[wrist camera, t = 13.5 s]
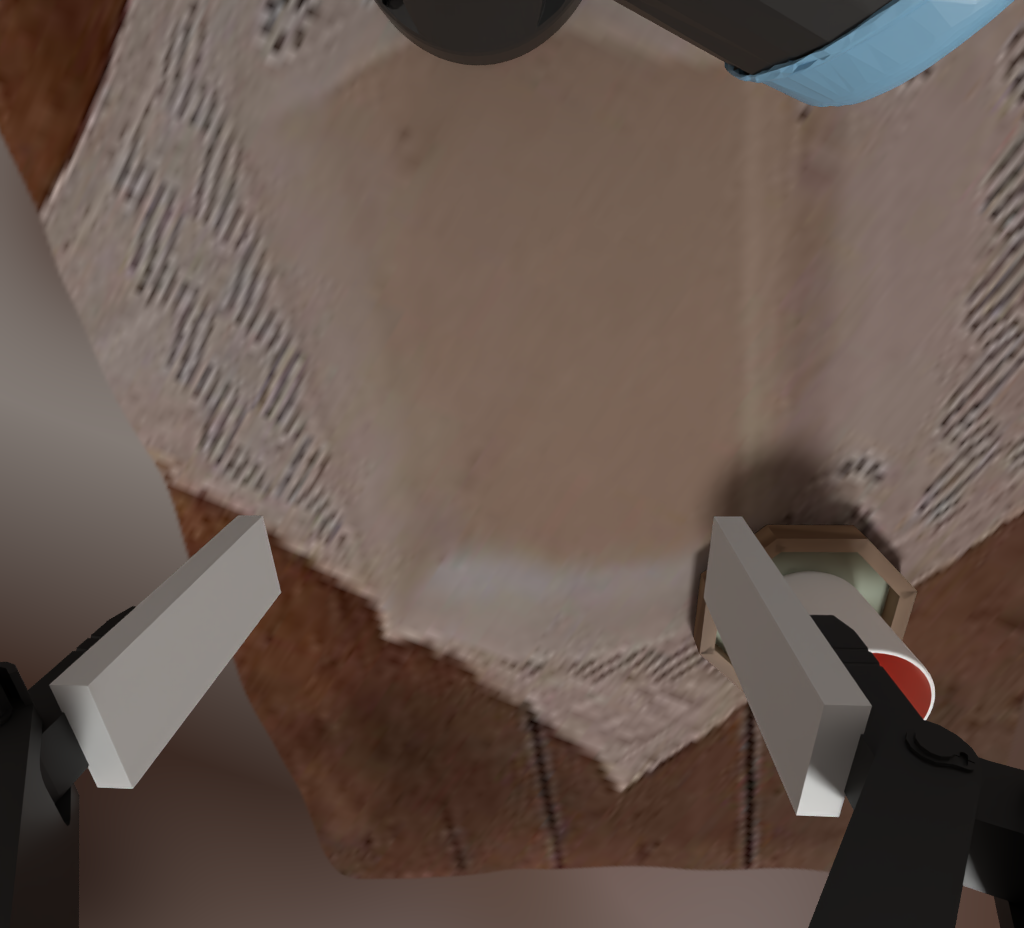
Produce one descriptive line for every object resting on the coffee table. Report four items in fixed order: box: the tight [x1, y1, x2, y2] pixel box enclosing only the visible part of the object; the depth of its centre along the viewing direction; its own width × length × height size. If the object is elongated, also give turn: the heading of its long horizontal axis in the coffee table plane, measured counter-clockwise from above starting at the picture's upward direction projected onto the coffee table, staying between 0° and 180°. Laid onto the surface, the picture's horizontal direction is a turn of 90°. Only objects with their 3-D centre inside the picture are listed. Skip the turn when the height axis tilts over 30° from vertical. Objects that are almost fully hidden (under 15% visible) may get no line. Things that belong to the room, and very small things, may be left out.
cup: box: [783, 571, 935, 720], centre depth 42 cm, size 10×10×10 cm
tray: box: [693, 525, 917, 692], centre depth 46 cm, size 16×16×2 cm
